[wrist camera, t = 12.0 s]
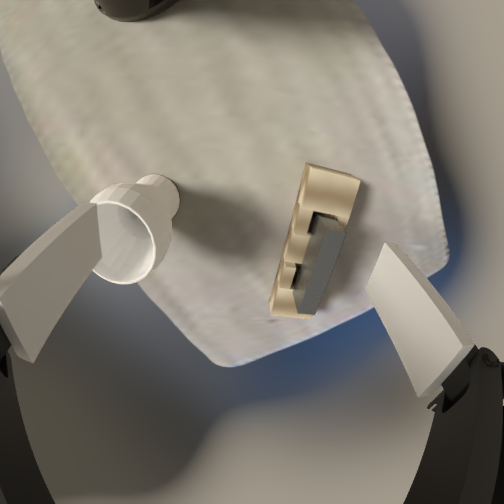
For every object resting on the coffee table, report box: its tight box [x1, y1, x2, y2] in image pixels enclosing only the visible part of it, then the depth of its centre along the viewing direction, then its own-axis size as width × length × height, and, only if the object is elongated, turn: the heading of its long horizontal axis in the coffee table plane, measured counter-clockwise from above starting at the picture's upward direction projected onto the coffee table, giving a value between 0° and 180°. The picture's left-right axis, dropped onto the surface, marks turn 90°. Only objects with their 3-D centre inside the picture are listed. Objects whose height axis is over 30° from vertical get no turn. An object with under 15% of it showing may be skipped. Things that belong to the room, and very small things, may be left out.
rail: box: [269, 163, 360, 319], centre depth 40 cm, size 24×7×4 cm, turn 169°
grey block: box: [292, 213, 346, 315], centre depth 38 cm, size 13×3×8 cm, turn 169°
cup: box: [89, 174, 180, 284], centre depth 31 cm, size 11×11×15 cm
